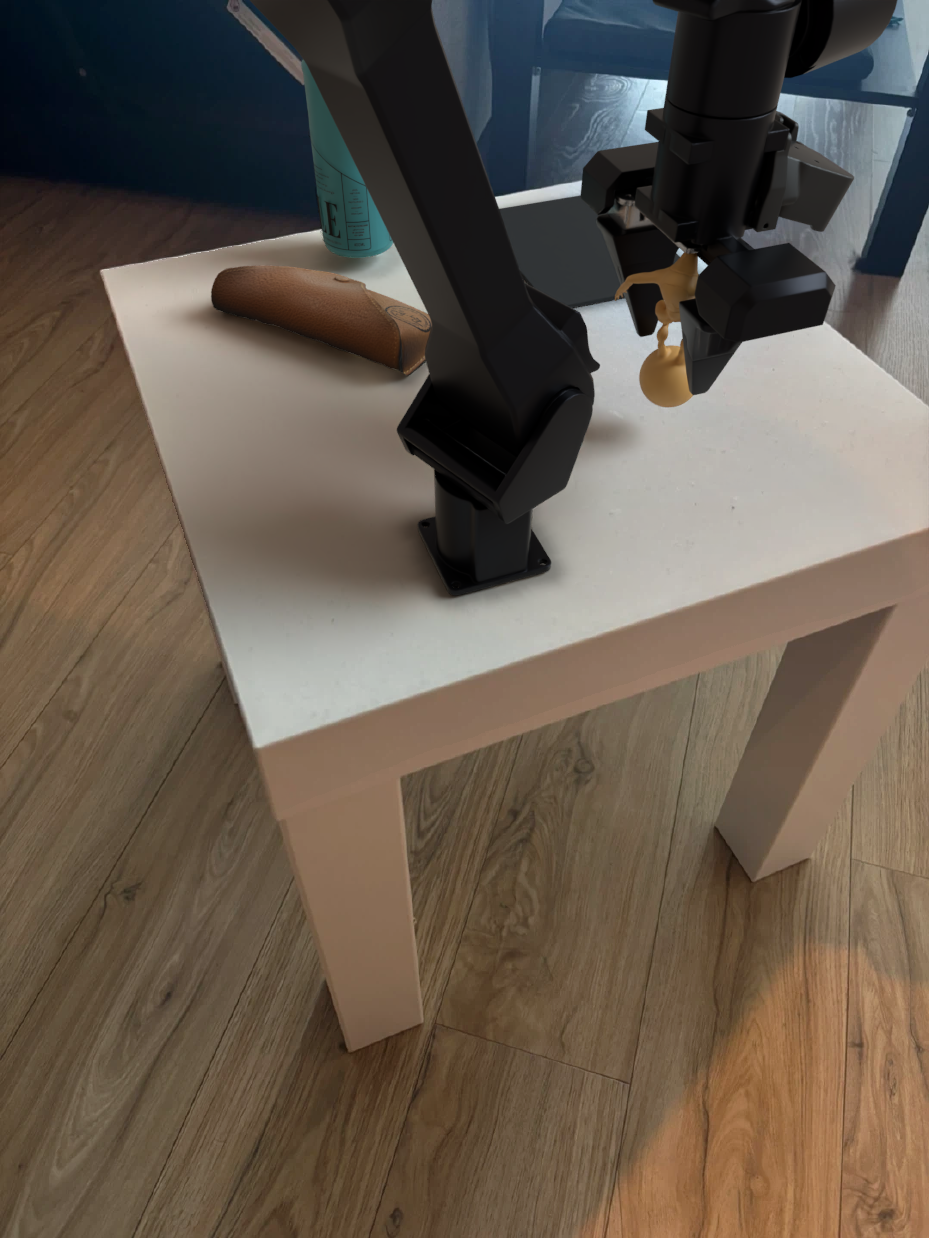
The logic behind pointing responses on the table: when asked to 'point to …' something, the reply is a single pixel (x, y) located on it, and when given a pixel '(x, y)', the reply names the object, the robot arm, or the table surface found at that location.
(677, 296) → the figurine
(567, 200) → the mat
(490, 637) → the table surface
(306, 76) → the beverage bottle
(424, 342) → the sunglasses case
